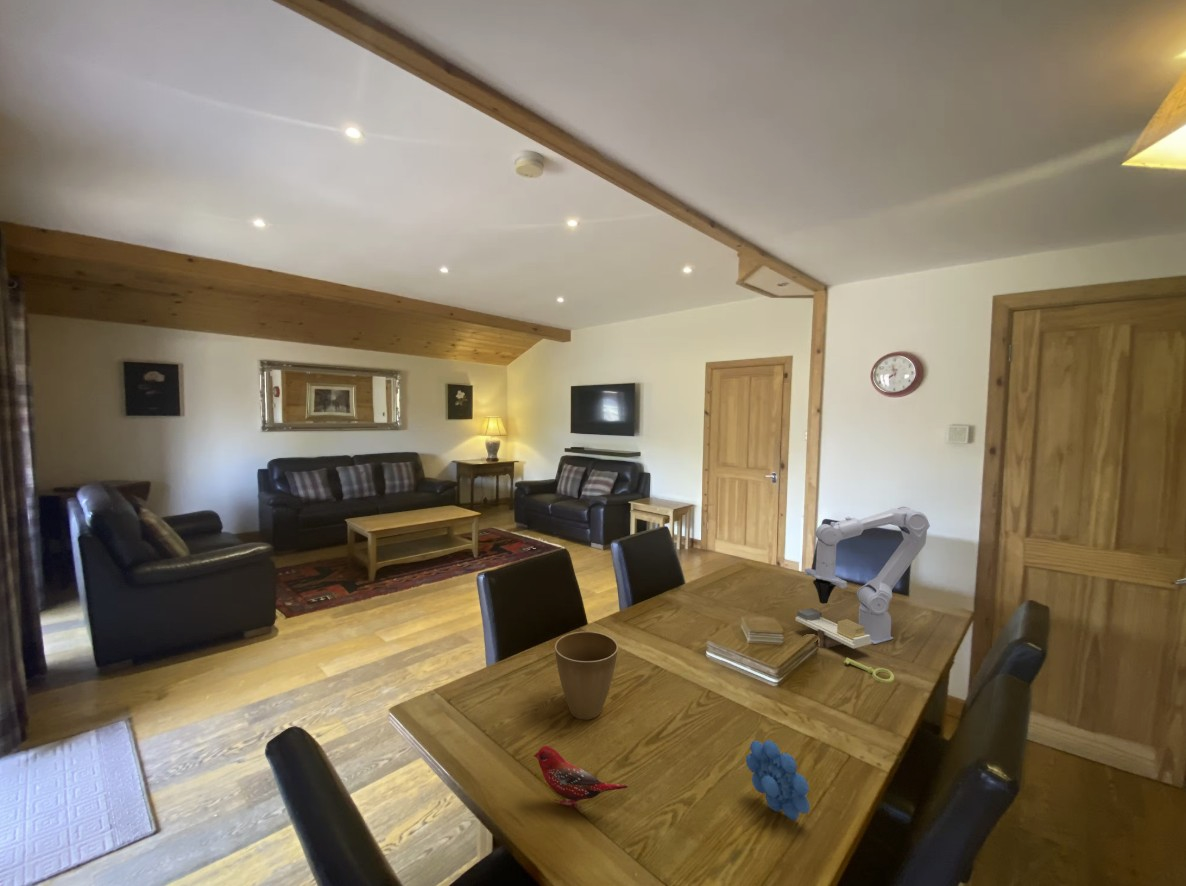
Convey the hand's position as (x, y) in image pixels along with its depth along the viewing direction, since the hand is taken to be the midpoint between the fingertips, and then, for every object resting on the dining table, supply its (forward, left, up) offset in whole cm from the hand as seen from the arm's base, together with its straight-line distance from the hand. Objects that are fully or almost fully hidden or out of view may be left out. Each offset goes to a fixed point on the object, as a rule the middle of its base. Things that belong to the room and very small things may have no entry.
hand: (823, 602), depth 159 cm
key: (+9, +23, -11) cm, 27 cm away
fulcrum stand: (+4, +6, -10) cm, 13 cm away
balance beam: (+4, +6, -6) cm, 10 cm away
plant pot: (+89, +7, -11) cm, 90 cm away
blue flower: (+71, +48, -11) cm, 86 cm away
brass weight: (+4, +13, -6) cm, 14 cm away
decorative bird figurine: (+102, +33, -11) cm, 107 cm away
